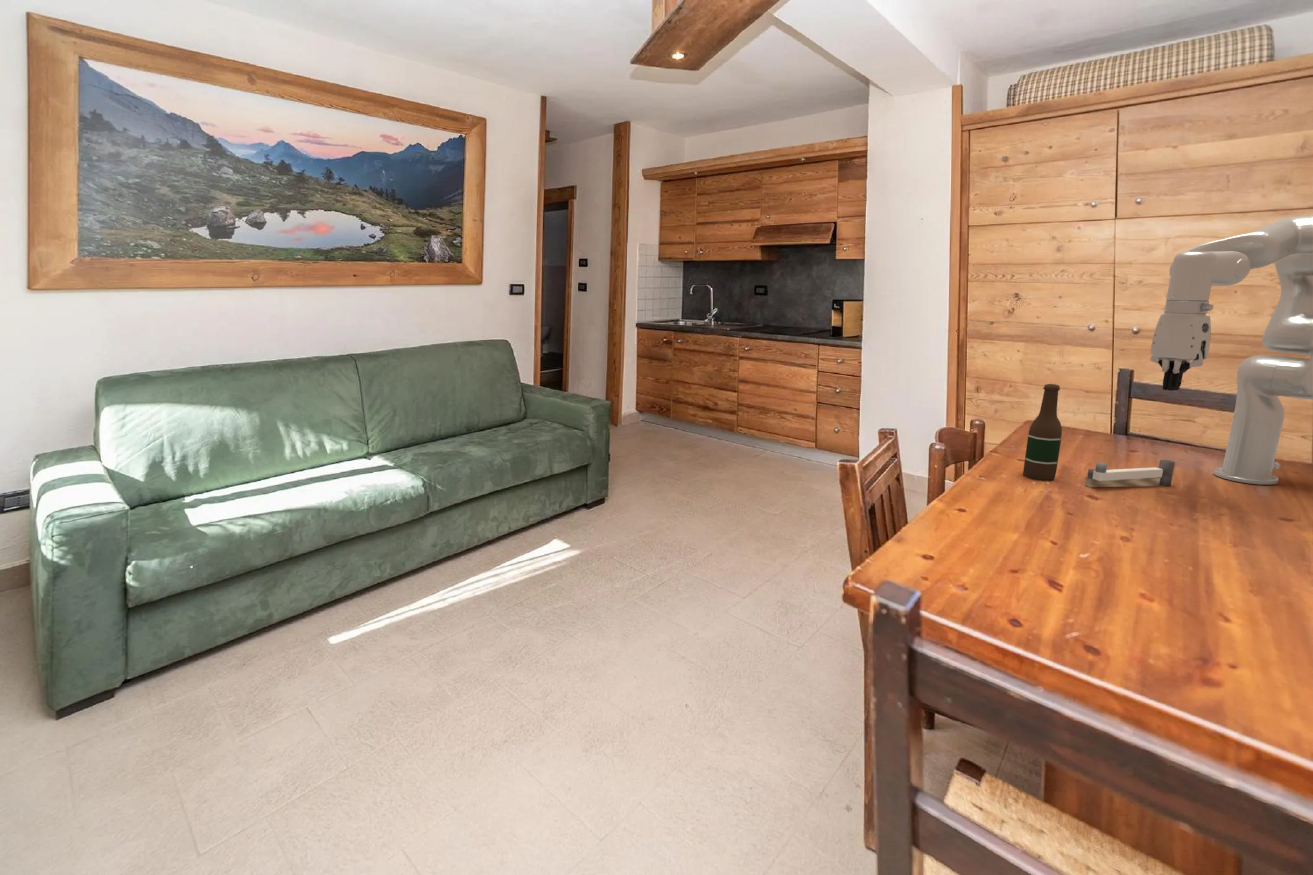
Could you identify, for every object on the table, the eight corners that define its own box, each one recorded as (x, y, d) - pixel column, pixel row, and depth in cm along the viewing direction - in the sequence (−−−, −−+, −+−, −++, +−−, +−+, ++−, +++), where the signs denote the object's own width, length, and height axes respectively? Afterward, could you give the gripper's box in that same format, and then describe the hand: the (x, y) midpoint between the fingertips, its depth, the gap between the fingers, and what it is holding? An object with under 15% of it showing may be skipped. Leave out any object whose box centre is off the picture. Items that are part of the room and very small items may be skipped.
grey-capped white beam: (1163, 482, 169) (1168, 459, 167) (1173, 486, 166) (1178, 462, 165) (1082, 484, 167) (1086, 460, 166) (1091, 487, 164) (1095, 464, 163)
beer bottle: (1061, 482, 169) (1075, 387, 163) (1027, 480, 170) (1040, 386, 165) (1049, 473, 176) (1063, 383, 170) (1017, 471, 178) (1030, 381, 172)
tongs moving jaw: (1154, 474, 167) (1156, 459, 166) (1162, 477, 165) (1164, 461, 164) (1091, 478, 164) (1094, 462, 163) (1099, 481, 162) (1101, 465, 161)
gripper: (1234, 310, 145) (1217, 394, 149) (1162, 307, 158) (1149, 384, 163) (1210, 310, 142) (1194, 396, 146) (1140, 307, 156) (1127, 385, 160)
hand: (1170, 389), depth 155 cm, fingers closed
